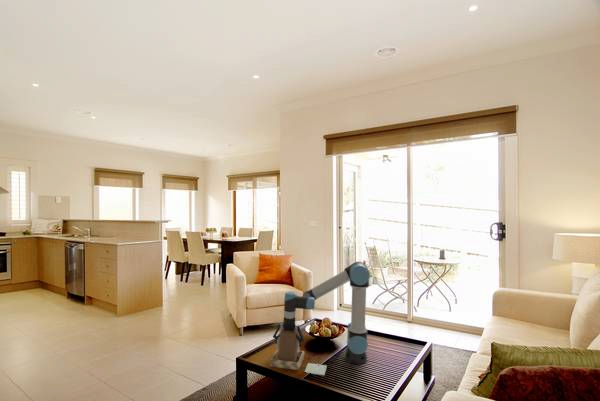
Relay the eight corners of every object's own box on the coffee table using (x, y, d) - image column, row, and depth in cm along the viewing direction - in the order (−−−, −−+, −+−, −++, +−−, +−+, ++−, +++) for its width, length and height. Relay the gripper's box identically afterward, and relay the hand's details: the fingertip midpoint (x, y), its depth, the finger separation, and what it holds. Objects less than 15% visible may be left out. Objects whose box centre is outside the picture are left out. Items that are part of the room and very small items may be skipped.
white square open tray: (304, 357, 217) (304, 351, 217) (298, 370, 200) (298, 363, 200) (277, 353, 221) (278, 347, 221) (270, 366, 203) (270, 359, 204)
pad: (326, 366, 206) (326, 365, 206) (324, 375, 194) (324, 374, 194) (308, 363, 209) (308, 362, 209) (304, 372, 197) (304, 372, 197)
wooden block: (293, 366, 204) (294, 333, 205) (278, 364, 206) (279, 331, 207) (296, 359, 214) (298, 328, 215) (282, 357, 216) (283, 326, 217)
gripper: (309, 317, 212) (308, 350, 212) (272, 313, 217) (270, 345, 217) (307, 321, 205) (306, 355, 204) (269, 316, 210) (267, 350, 209)
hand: (288, 350), depth 211 cm, fingers open, 13 cm apart
